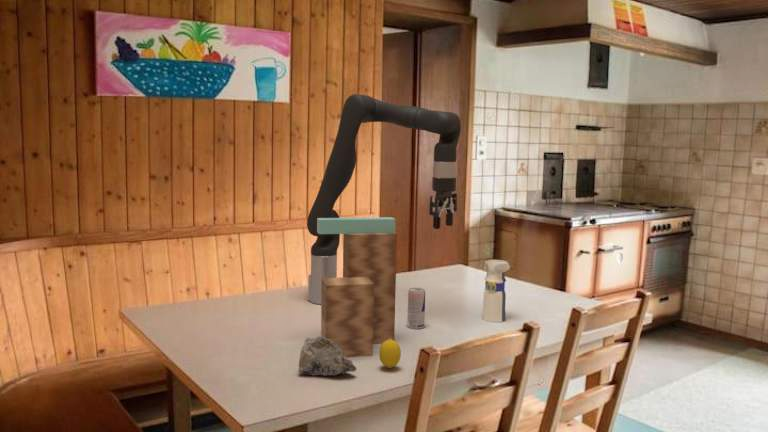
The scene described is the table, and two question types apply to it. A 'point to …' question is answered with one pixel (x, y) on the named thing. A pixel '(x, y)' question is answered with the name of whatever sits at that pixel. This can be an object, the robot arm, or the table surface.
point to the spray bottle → (494, 290)
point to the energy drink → (416, 308)
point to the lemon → (389, 353)
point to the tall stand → (375, 275)
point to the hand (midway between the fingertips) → (442, 227)
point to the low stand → (348, 314)
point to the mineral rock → (323, 358)
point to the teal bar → (355, 225)
